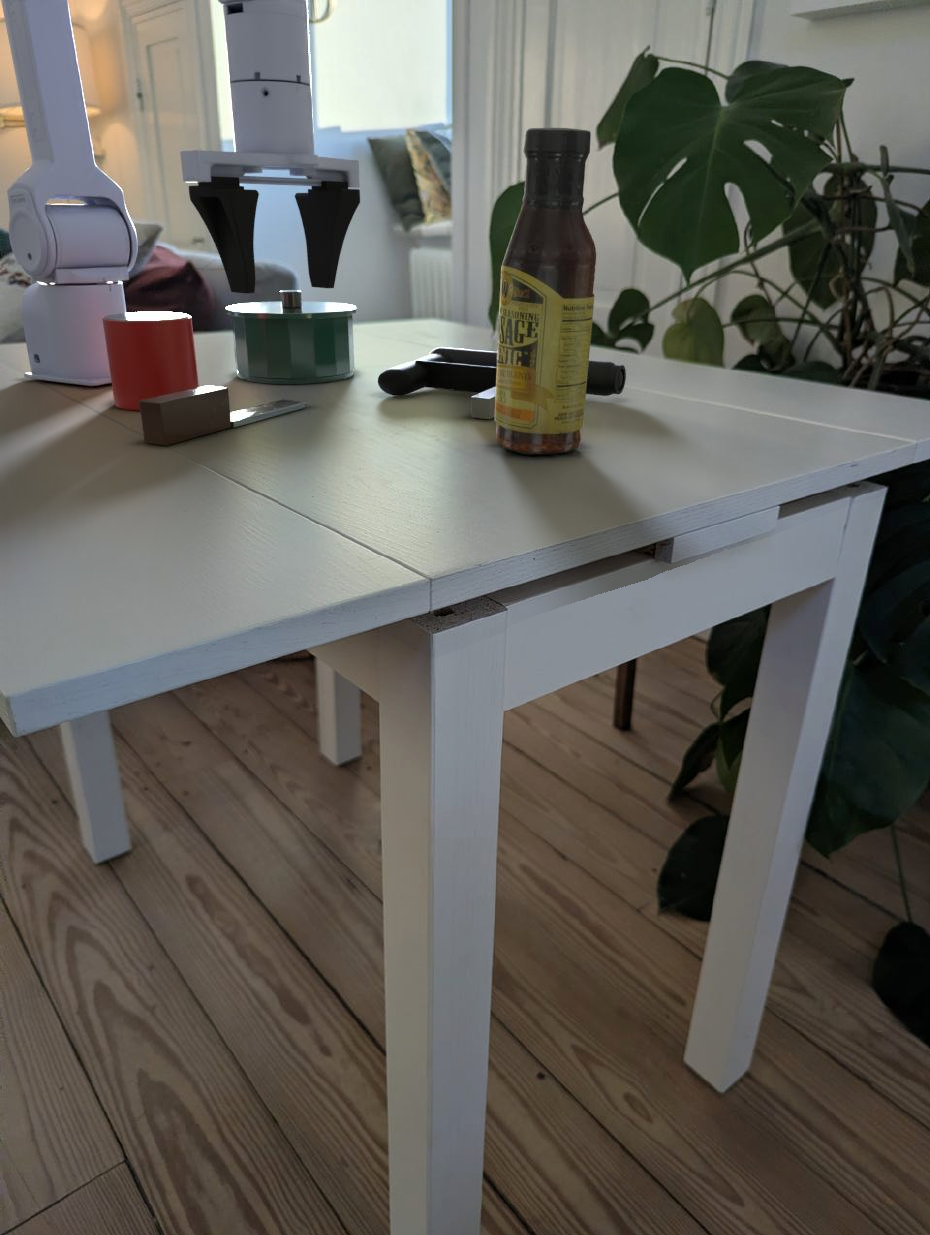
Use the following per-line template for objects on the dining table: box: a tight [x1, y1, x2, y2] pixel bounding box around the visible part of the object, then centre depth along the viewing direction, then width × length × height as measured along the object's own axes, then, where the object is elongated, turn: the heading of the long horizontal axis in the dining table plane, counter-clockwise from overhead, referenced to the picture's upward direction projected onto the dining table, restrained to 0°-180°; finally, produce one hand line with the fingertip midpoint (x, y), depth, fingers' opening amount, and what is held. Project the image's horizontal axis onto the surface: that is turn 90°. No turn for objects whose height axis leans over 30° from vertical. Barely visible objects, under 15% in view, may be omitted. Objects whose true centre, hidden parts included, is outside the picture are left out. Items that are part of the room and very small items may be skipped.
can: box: [102, 311, 200, 412], centre depth 76 cm, size 7×7×7 cm
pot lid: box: [225, 289, 357, 319], centre depth 89 cm, size 13×13×3 cm
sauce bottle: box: [494, 127, 597, 456], centre depth 60 cm, size 6×6×20 cm
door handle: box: [377, 346, 627, 420], centre depth 80 cm, size 3×20×16 cm
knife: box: [139, 385, 306, 447], centre depth 70 cm, size 16×2×3 cm, turn 153°
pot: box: [230, 314, 355, 385], centre depth 91 cm, size 12×12×6 cm
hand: (284, 290), depth 70 cm, fingers open, 7 cm apart
